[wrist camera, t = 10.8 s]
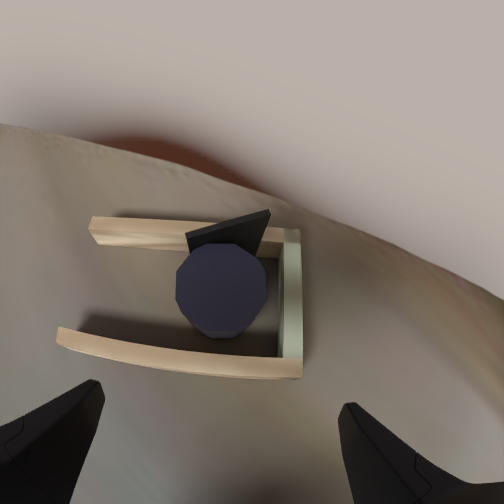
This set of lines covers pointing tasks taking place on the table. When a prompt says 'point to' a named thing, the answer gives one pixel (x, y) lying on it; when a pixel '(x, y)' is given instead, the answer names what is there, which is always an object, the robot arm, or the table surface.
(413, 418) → the table surface
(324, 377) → the table surface
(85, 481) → the table surface
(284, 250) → the channel
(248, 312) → the dark cylinder with backplate
